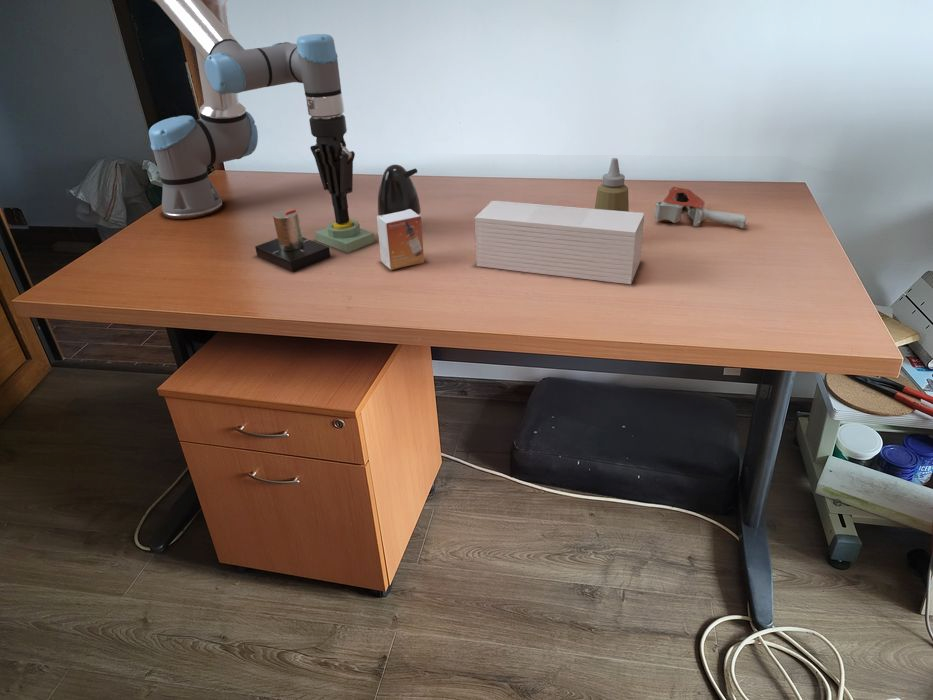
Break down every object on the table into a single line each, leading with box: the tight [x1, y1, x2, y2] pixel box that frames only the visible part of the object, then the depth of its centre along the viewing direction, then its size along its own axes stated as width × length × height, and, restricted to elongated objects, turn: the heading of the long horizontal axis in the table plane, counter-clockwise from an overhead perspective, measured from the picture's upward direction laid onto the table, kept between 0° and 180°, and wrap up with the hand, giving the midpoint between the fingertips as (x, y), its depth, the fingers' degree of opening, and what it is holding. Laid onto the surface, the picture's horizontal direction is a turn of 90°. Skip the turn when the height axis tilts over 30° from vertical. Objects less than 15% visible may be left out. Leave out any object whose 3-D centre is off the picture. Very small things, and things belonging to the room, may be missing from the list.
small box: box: [376, 209, 425, 271], centre depth 141 cm, size 8×6×10 cm
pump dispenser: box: [377, 164, 422, 216], centre depth 158 cm, size 10×10×15 cm
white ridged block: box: [474, 200, 645, 285], centre depth 137 cm, size 32×11×11 cm, turn 69°
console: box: [254, 236, 331, 273], centre depth 149 cm, size 14×10×3 cm
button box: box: [314, 219, 376, 254], centre depth 155 cm, size 12×8×4 cm, turn 47°
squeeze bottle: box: [594, 157, 630, 212], centre depth 145 cm, size 8×8×18 cm
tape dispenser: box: [654, 186, 747, 229], centre depth 156 cm, size 18×5×20 cm
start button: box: [333, 219, 353, 229], centre depth 154 cm, size 4×4×2 cm
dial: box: [272, 208, 303, 251], centre depth 146 cm, size 5×5×8 cm
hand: (342, 221), depth 154 cm, fingers closed
